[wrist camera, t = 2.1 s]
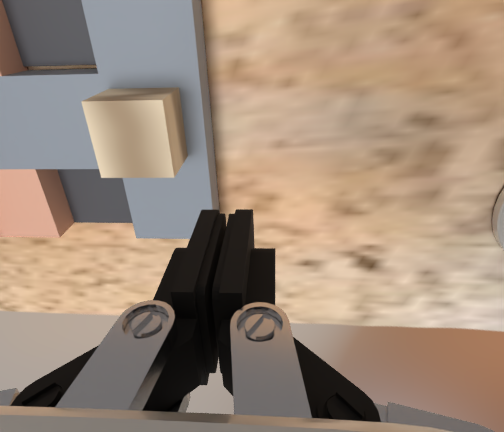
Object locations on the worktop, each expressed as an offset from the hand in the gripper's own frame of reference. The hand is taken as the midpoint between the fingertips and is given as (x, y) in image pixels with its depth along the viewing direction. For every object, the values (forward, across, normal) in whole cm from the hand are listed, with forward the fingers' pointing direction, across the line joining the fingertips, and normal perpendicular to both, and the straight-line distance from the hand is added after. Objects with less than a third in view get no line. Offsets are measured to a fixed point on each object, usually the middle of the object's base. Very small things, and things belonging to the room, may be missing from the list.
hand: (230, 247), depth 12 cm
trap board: (+19, +14, 0) cm, 23 cm away
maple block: (+16, +8, 0) cm, 17 cm away
